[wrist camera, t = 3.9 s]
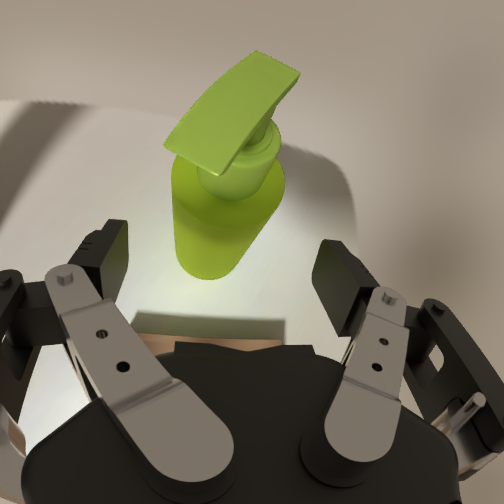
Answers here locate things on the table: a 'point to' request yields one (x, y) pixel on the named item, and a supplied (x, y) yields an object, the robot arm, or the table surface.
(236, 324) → the table surface
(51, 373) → the table surface
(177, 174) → the soap dispenser
